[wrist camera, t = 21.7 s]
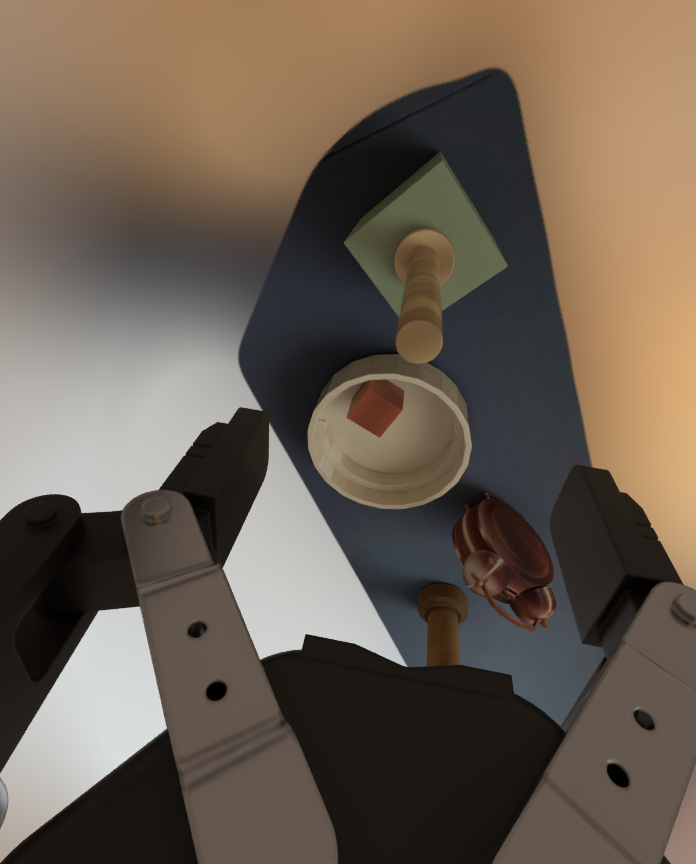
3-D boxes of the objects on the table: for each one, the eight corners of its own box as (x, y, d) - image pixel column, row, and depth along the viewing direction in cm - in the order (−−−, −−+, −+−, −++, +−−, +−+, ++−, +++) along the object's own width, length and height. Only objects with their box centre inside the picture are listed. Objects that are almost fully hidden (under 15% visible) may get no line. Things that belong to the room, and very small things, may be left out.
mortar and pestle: (408, 594, 67) (401, 730, 52) (446, 575, 64) (450, 715, 49) (438, 619, 69) (440, 758, 54) (476, 603, 66) (489, 745, 51)
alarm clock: (447, 500, 57) (451, 606, 44) (475, 475, 54) (488, 581, 42) (516, 545, 59) (538, 659, 47) (546, 523, 56) (578, 638, 44)
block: (351, 398, 51) (345, 417, 47) (372, 370, 48) (367, 388, 45) (383, 417, 51) (379, 438, 48) (405, 390, 49) (402, 410, 46)
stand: (361, 218, 41) (343, 242, 33) (440, 151, 38) (442, 159, 30) (414, 292, 44) (410, 332, 36) (492, 236, 41) (507, 266, 32)
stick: (383, 253, 33) (353, 333, 21) (431, 213, 31) (430, 275, 19) (417, 299, 35) (409, 399, 22) (465, 263, 33) (485, 351, 20)
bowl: (287, 404, 53) (274, 428, 49) (410, 320, 46) (407, 340, 42) (376, 500, 58) (371, 529, 54) (497, 438, 51) (503, 467, 47)
